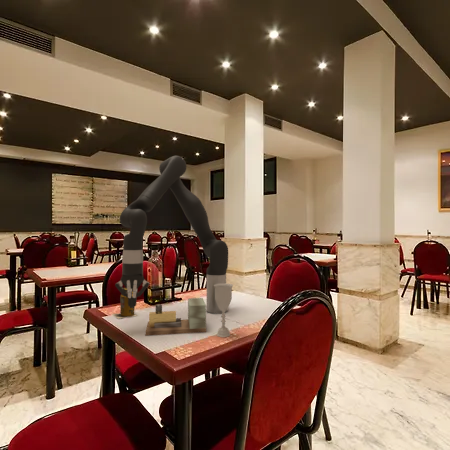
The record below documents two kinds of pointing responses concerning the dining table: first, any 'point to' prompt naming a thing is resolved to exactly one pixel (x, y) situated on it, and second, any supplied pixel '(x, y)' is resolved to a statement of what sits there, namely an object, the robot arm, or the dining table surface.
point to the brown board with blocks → (183, 321)
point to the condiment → (125, 307)
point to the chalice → (223, 304)
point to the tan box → (161, 316)
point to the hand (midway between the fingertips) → (132, 307)
